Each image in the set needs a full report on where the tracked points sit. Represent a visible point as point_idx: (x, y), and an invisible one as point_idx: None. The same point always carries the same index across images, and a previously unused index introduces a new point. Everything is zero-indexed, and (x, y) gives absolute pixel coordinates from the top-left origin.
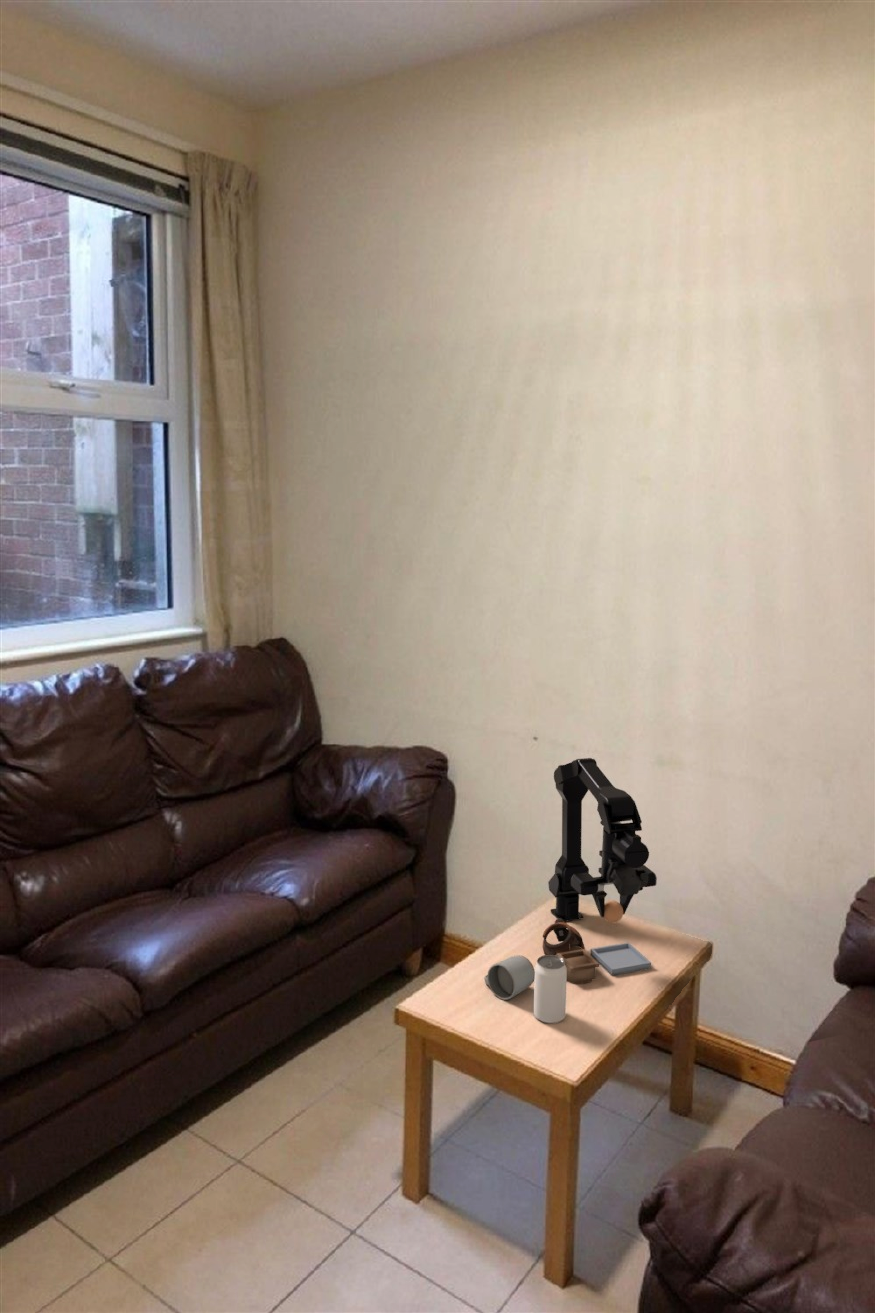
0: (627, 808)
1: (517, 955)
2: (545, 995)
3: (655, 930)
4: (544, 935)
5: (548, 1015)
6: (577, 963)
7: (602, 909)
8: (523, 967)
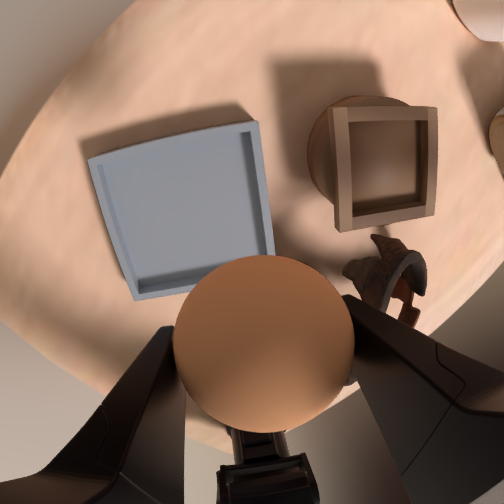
0: None
1: None
2: None
3: (58, 356)
4: (420, 311)
5: None
6: (390, 153)
7: (392, 328)
8: None
